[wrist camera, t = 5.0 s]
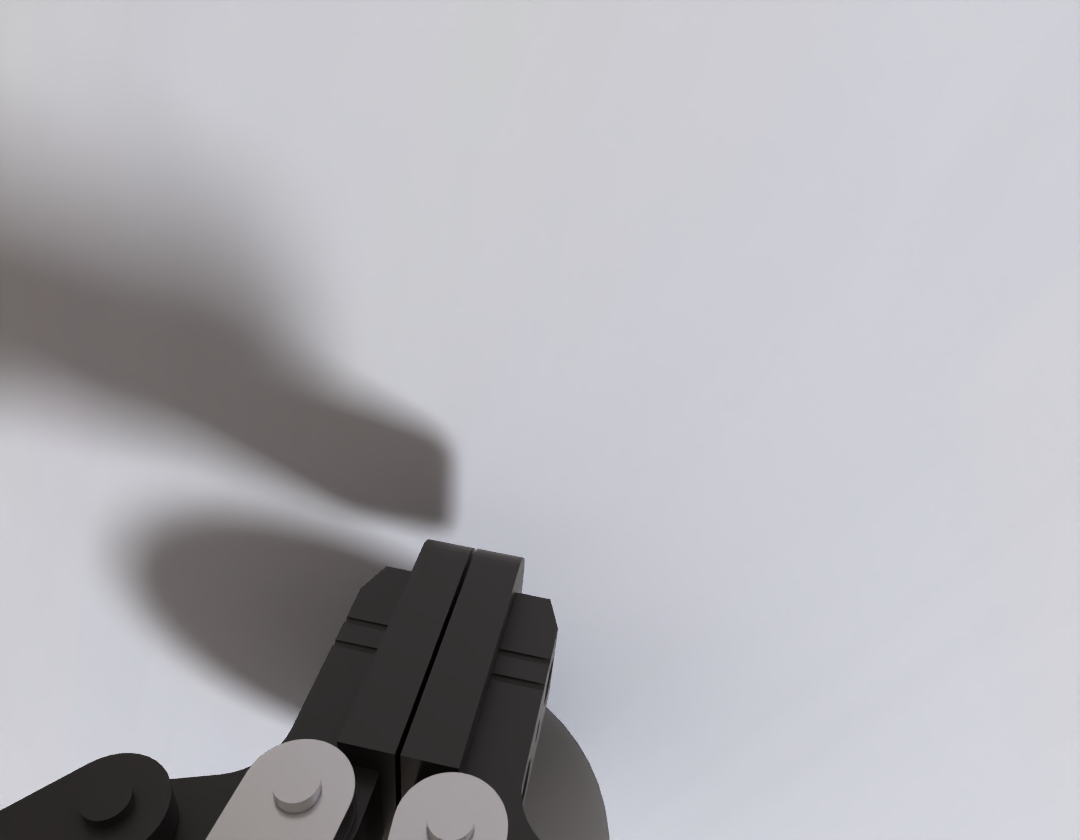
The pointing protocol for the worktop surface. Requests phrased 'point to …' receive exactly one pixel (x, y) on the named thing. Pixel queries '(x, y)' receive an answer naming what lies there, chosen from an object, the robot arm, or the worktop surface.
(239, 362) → the worktop surface
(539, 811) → the dark gray ball
